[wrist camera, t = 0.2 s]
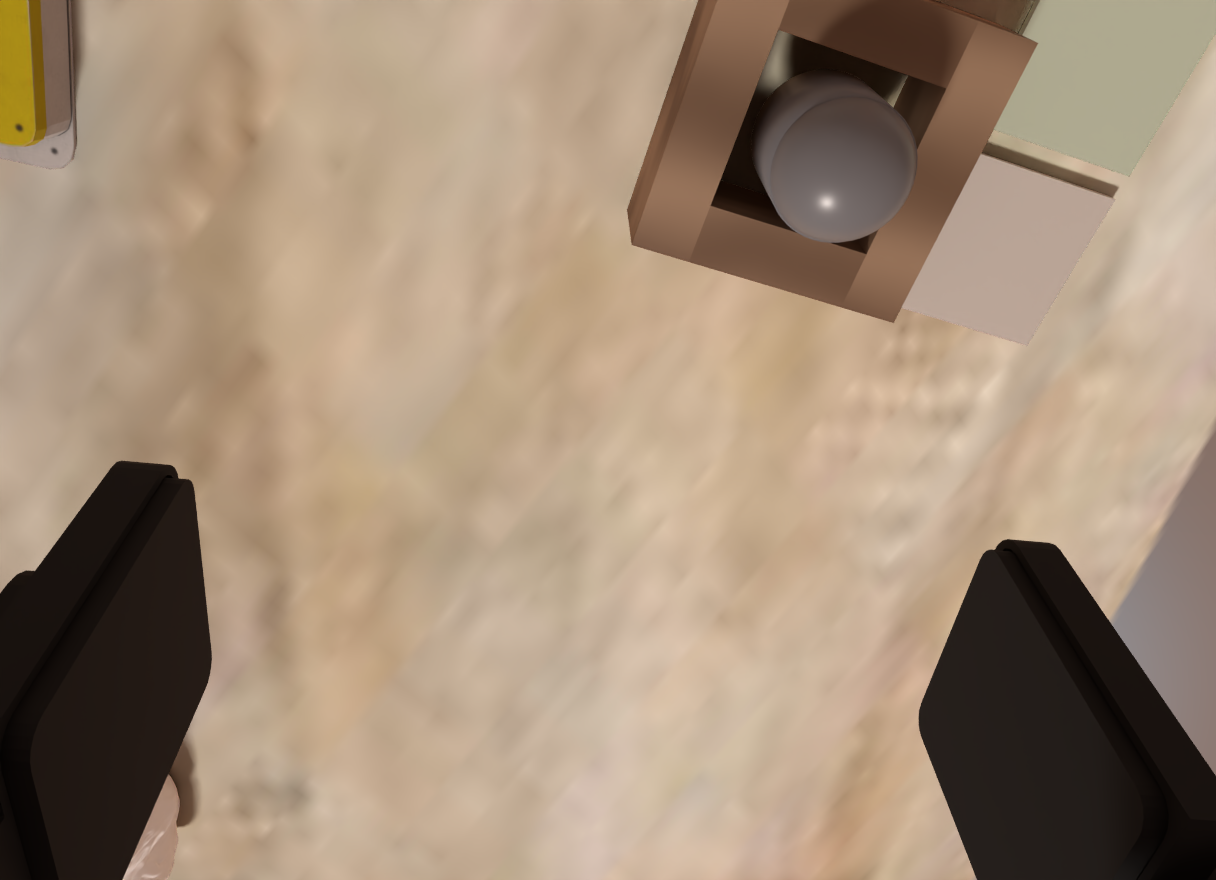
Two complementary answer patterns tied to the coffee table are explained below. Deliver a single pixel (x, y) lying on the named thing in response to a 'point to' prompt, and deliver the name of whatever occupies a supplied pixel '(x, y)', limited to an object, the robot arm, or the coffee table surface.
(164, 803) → the bust
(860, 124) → the dome
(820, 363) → the coffee table surface
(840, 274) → the frame
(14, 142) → the emergency button
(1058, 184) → the tile strip
